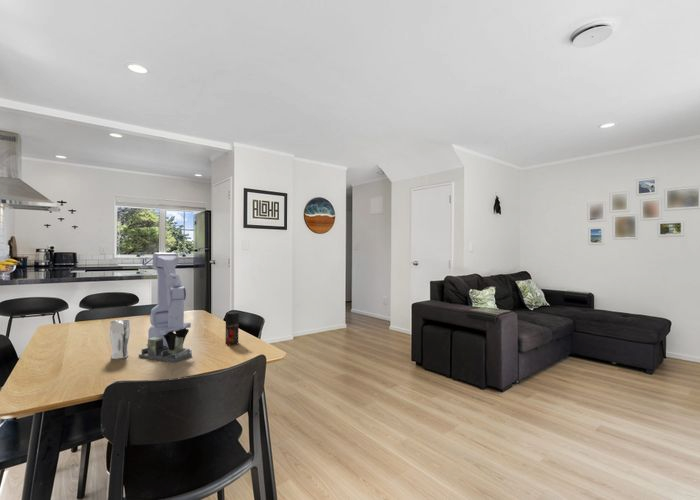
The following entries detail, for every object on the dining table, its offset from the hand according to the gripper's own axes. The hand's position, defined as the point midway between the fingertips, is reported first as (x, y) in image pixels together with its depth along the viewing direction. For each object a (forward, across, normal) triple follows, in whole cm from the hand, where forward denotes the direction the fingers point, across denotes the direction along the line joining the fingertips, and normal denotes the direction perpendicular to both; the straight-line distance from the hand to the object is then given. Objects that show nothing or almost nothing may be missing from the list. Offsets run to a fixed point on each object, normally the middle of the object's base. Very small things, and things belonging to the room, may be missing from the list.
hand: (175, 348), depth 144 cm
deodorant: (+4, +26, -9) cm, 28 cm away
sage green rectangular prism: (+2, 0, 0) cm, 2 cm away
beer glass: (+4, -7, +22) cm, 24 cm away
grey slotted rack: (+4, 0, +5) cm, 7 cm away
